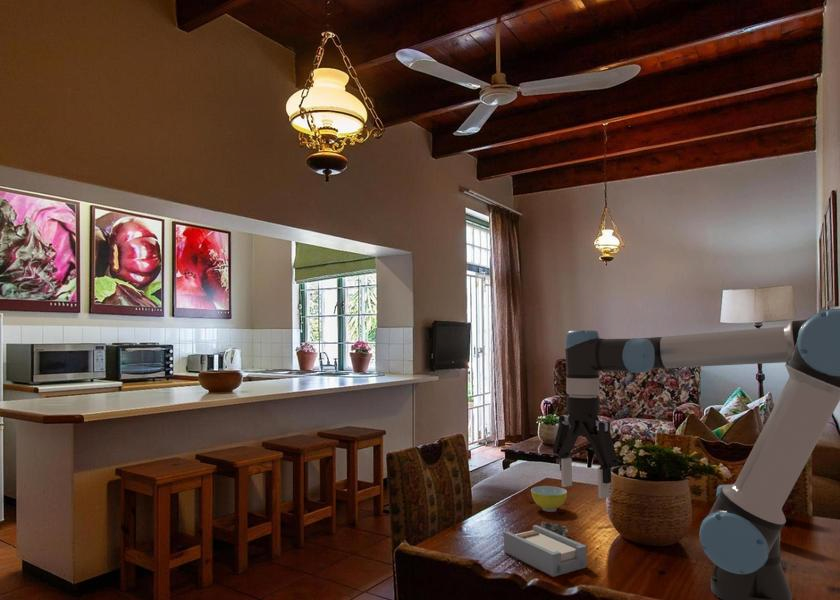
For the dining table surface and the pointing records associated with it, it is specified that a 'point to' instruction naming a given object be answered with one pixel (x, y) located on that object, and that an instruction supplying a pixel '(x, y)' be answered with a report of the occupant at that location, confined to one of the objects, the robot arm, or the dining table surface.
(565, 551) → the lid
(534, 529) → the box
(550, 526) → the egg carton
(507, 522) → the dining table surface
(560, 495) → the bowl
